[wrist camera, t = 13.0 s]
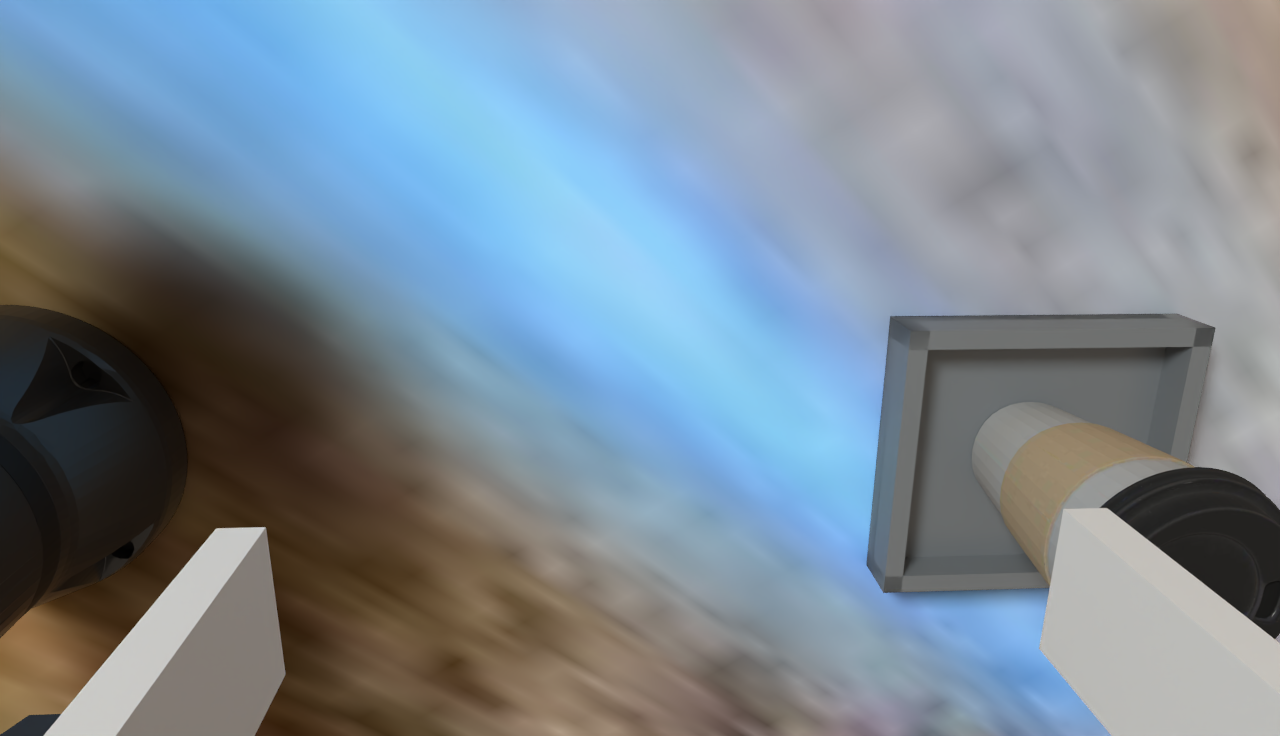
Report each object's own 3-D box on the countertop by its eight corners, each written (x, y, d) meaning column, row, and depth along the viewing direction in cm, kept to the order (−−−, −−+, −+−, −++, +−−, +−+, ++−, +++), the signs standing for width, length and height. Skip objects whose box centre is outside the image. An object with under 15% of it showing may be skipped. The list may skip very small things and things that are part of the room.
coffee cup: (1119, 488, 49) (1338, 649, 35) (962, 549, 50) (1115, 732, 36) (1081, 341, 46) (1302, 451, 32) (915, 408, 47) (1061, 546, 33)
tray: (866, 564, 51) (883, 592, 48) (890, 316, 46) (910, 330, 44) (1128, 557, 52) (1160, 584, 49) (1177, 313, 47) (1215, 327, 45)
